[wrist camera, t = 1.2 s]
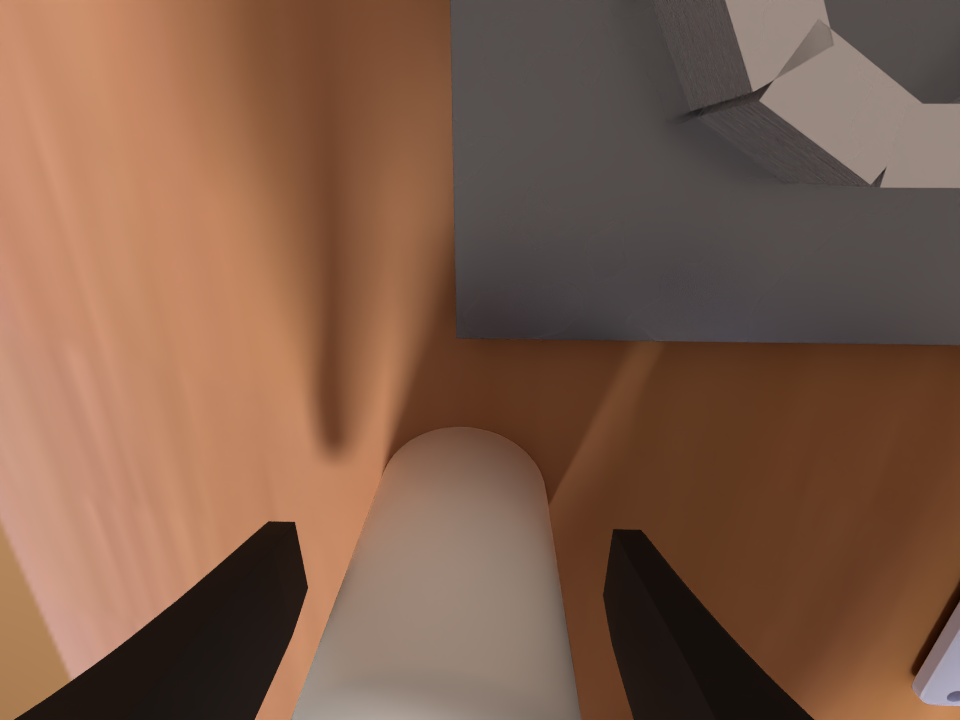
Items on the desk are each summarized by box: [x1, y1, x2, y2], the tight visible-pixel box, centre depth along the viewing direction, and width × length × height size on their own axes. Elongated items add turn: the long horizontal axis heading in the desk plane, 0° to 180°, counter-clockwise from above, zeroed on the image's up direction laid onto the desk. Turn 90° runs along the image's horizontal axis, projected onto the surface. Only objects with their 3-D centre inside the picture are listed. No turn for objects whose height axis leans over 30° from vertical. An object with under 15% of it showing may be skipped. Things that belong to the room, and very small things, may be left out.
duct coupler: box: [291, 427, 581, 720], centre depth 9 cm, size 4×4×6 cm
